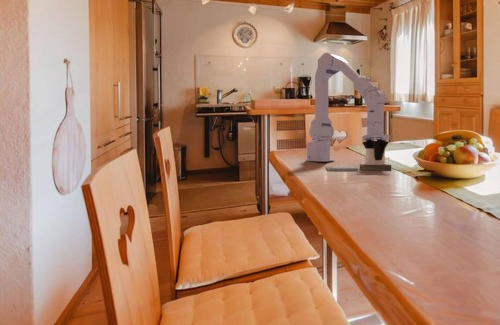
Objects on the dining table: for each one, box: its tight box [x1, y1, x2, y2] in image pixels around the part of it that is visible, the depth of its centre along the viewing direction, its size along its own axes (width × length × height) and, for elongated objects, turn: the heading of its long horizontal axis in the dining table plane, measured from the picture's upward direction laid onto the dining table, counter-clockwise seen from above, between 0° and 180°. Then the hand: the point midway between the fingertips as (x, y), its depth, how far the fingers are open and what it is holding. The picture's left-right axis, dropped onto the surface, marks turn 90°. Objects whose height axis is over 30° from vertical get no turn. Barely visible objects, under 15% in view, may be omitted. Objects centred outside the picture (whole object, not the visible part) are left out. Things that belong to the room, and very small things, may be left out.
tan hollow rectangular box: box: [359, 163, 392, 172], centre depth 122 cm, size 7×10×2 cm
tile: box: [325, 165, 359, 172], centre depth 123 cm, size 10×10×1 cm
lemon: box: [416, 147, 426, 168], centre depth 118 cm, size 6×6×8 cm
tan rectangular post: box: [365, 148, 386, 165], centre depth 122 cm, size 3×6×8 cm, turn 88°
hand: (374, 160), depth 122 cm, fingers open, 4 cm apart
